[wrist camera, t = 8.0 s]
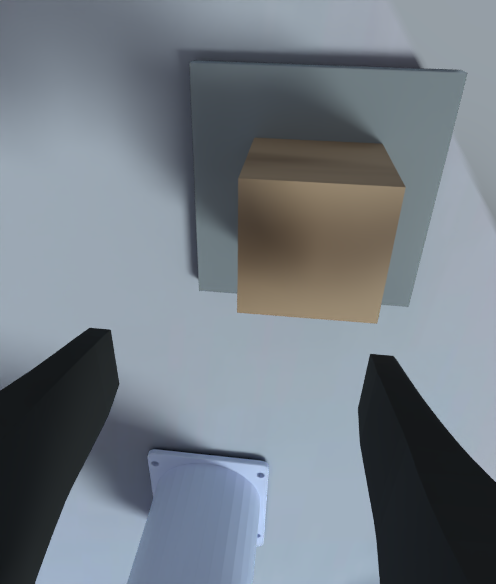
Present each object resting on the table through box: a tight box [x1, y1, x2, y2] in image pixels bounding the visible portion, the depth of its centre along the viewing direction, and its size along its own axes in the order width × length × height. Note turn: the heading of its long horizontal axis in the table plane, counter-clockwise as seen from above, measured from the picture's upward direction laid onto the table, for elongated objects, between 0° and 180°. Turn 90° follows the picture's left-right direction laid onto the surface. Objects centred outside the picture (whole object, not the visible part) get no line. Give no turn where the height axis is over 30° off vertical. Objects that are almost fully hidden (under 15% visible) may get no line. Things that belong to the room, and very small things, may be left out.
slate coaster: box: [189, 60, 467, 307], centre depth 20 cm, size 10×10×1 cm
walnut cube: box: [237, 138, 406, 324], centre depth 17 cm, size 5×5×5 cm
